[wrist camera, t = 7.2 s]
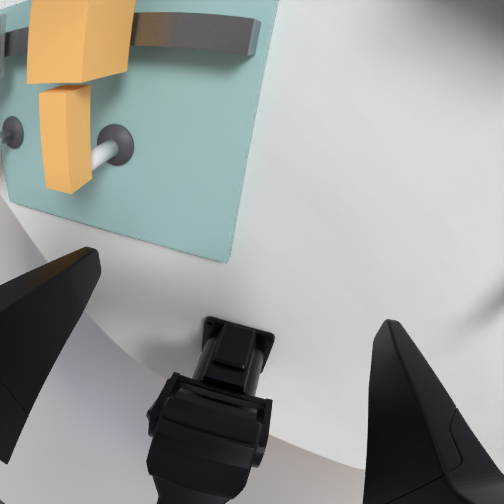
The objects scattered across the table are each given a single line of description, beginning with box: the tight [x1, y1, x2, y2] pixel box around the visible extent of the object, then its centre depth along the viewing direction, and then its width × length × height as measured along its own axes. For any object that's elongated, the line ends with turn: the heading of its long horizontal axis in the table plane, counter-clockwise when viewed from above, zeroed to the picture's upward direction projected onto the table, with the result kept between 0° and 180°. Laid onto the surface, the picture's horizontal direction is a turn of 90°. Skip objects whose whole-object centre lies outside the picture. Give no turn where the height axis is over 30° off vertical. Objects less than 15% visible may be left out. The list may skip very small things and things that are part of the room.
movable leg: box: [27, 0, 136, 194], centre depth 14 cm, size 11×4×6 cm, turn 171°
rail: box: [4, 12, 262, 57], centre depth 14 cm, size 2×22×2 cm, turn 81°
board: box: [0, 0, 279, 263], centre depth 19 cm, size 19×23×1 cm
